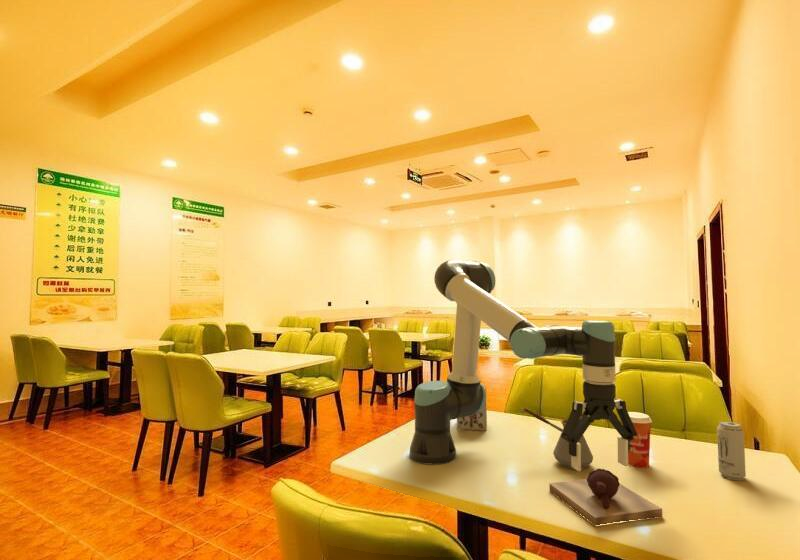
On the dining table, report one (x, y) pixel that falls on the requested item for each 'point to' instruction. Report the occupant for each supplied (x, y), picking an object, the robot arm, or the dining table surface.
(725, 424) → the energy drink can
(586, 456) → the coffee pot
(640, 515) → the serving board
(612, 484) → the icecream
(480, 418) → the decorative jar
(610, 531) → the dining table surface
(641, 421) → the coffee cup
